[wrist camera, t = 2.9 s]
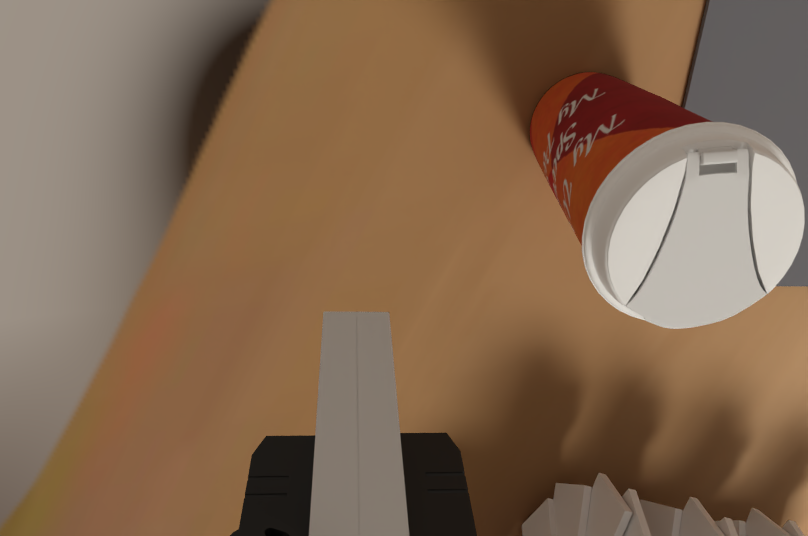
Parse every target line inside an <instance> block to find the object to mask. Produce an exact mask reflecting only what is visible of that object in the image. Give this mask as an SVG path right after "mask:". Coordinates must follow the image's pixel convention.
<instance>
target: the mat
mask: <svg viewBox="0 0 808 536" xmlns="http://www.w3.org/2000/svg"><path fill="white" fill-rule="evenodd" d="M682 108H684V109H687V110H689V111H691V112H693V113H695V114H697V115H699V116H701V117H704V118H706V119H708V120H710V121H712V122H726V123H732V124H737V125H741V126H744V127H747V128H750V129H752V130H755V131H757V132H758V133H760V134H762V135H763V136H765V137H767V138H768V139H770V140H771V141H772V142H773V143H774V144H775V145H776V146H777V147H778V148H779V149H781V151H782V152H783V154H784V155H785V156H786V158H787V159H788V161H789V162H790V165H791V167H792V169H793V172H794V174H795V177H796V182H797V185H798V187H799V189H800V192H801V194H802V199H803V204H804V218H805V224H804V231H803V237H802V240H801V243H800V247H799V250H798V252H797V254H796V256H795V258H794V260H793V263H792V265H791V266H790V268H789V269H788V271H787V272H786V274H785V275H784V277H783V278H782V279H781V280H780V281H779V283H778V284H777V285H776V286H808V0H707V2H706V6H705V11H704V15H703V19H702V24H701V28H700V32H699V37H698V41H697V45H696V50H695V54H694V58H693V63H692V67H691V71H690V76H689V80H688V84H687V89H686V93H685V97H684V102H683V106H682Z"/></svg>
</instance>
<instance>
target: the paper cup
mask: <svg viewBox="0 0 808 536" xmlns="http://www.w3.org/2000/svg"><path fill="white" fill-rule="evenodd" d="M530 140H531V145H532V148H533V151H534V154H535V156H536V159H537V161H538V163H539V165H540V167H541V169H542V171H543V173H544V175H545V177H546V179H547V181H548V183H549V185H550V187H551V189H552V191H553V192H554V194H555V196H556V198H557V200H558V202H559V204H560V206H561V208H562V210H563V211H564V213H565V215H566V217H567V219H568V221H569V223H570V224H571V226H572V228H573V230H574V232H575V234H576V236H577V238H578V239H579V241H580V243H581V245H582V255H583V260H584V265H585V268H586V271H587V273H588V276H589V278H590V280H591V282H592V284H593V285H594V287H595V288H596V290H597V291H598V293H599V294H600V295H601V296H602V297H603V298H604V299H605V300H606V301H607V302H608V303H609V304H611V305H612V306H614V307H615V308H616V309H618V310H619V311H621V312H624V313H626V314H628V315H630V316H632V317H636V318H639V319H642V320H645V321H648V322H650V323H653V324H655V325H658V326H661V327H664V328H671V329H680V328H691V327H697V326H701V325H707V324H711V323H715V322H719V321H722V320H724V319H727V318H729V317H731V316H734V315H736V314H737V313H739V312H741V311H742V310H744V309H746V308H747V307H749V306H751V305H752V304H754V303H755V302H757V301H758V300H760V299H761V298H762V297H764V296H765V295H766V294H768V293H769V292H770V291H771V290H772V289H773V288H774V287H775V286H776V285H777V284H778V283H779V281H780V280H781V279H782V278H783V277H784V275H785V274H786V272H787V271H788V269H789V268H790V266H791V265H792V263H793V260H794V258H795V256H796V254H797V252H798V250H799V247H800V243H801V240H802V237H803V231H804V224H805V218H804V204H803V199H802V194H801V192H800V189H799V187H798V185H797V182H796V177H795V174H794V172H793V169H792V167H791V165H790V162H789V161H788V159H787V158H786V156H785V155H784V154H783V152H782V151H781V149H779V148H778V147H777V146H776V145H775V144H774V143H773V142H772V141H771V140H770V139H768V138H767V137H765V136H763V135H762V134H760V133H758V132H757V131H755V130H752V129H750V128H747V127H744V126H741V125H737V124H732V123H726V122H712V121H710V120H708V119H706V118H704V117H701V116H699V115H697V114H695V113H693V112H691V111H689V110H687V109H684V108H682V107H680V106H678V105H676V104H674V103H672V102H670V101H668V100H666V99H664V98H662V97H660V96H657V95H655V94H652V93H650V92H648V91H645V90H643V89H641V88H639V87H636V86H634V85H632V84H630V83H627V82H625V81H623V80H620V79H618V78H615V77H613V76H610V75H606V74H602V73H596V72H585V73H579V74H575V75H572V76H569V77H567V78H565V79H563V80H561V81H559V82H558V83H556V84H555V85H554V86H552V87H551V88H550V89H549V90H548V91H547V92H546V93H545V94H544V95H543V97H542V98H541V99H540V101H539V102H538V104H537V106H536V108H535V110H534V113H533V116H532V119H531V125H530Z"/></svg>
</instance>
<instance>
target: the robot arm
mask: <svg viewBox="0 0 808 536" xmlns="http://www.w3.org/2000/svg"><path fill="white" fill-rule="evenodd" d="M230 536H477V534H476V529H475V524H474V518H473V513H472V508H471V503H470V498H469V493H468V488H467V483H466V478H465V476H464V468H463V462H462V457H461V452H460V450H459V449H458V447H457V446H456V445H455V444H454V442H453V441H452V440H451V438H450V437H449V436H448V434H447V433H400V427H399V416H398V405H397V394H396V383H395V372H394V361H393V350H392V339H391V328H390V317H389V312H324V313H323V328H322V343H321V359H320V374H319V389H318V404H317V419H316V434H315V436H266V437H265V438H264V440H263V441H262V442H261V444H260V445H259V446H258V448H257V449H256V450H255V452H254V453H253V454H252V458H251V464H250V469H249V475H248V481H247V486H246V492H245V498H244V503H243V509H242V514H241V520H240V526H239V530H237V531H235V532H233V533H232V534H231V535H230Z"/></svg>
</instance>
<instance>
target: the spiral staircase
mask: <svg viewBox="0 0 808 536" xmlns="http://www.w3.org/2000/svg"><path fill="white" fill-rule="evenodd" d="M591 489H592V490H591ZM522 536H804V534H803V533H802V531H801V530H800V528H799V527H798V525H797V524H796V522H795V521H791V520H788V521H787V522H786V523H785V525H784V526H783V527H782V528H781V527H780V526H779V525H777V524H776V523H775V522H774V521H772V520H771V519H770V518H768V517H767V516H766V515H765V514H763V513H762V512H761V511H759V510H758V509H755V508H751V511H750V513H749V516H748V518H747V521H746V522H745V521H741V520H732V519H730V518H726V517H724V518H723V519H722V520H721V521H714V520H713V519H712V518H711V516H710V515H709V514H708V512H707V511H706V510H705V508H704V507H703V506H702V504H701V503H700V501H699V500H698V499H697V498H694V497H690V498H689V500H688V502H687V504H686V506H685V508H684V510H683V511H682V510H681V509H677V508H673V507H669V506H665V505H661V504H657V503H653V502H649V501H646V500H642V499H641V500H640V501H639V498H638V495H637V492H636V490H633V489H629V488H628V490H627V491H626V492H625V494H624V495H623V496H622V497H621V495H620V494H619V493H618V491H617V490H616V488H615V487H614V485H613V484H612V483H611V481H610V480H609V478H608V477H607V475H606V474H602V473H598V475H597V478H596V480H595V482H594V485H593V487H590V486H586V485H576V484H564V483H556V485H555V492H554V498H553V499H550V498H547V499H546V500H545V501H544V502H543V503H542V504H541V505H540V507H539V508H538V509H537V510H536V511H535V512H534V513H533V514H532V515H531V516H530V517H529V518H528V519H527V520H526V521H525V522H524V523H523V524H522Z"/></svg>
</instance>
